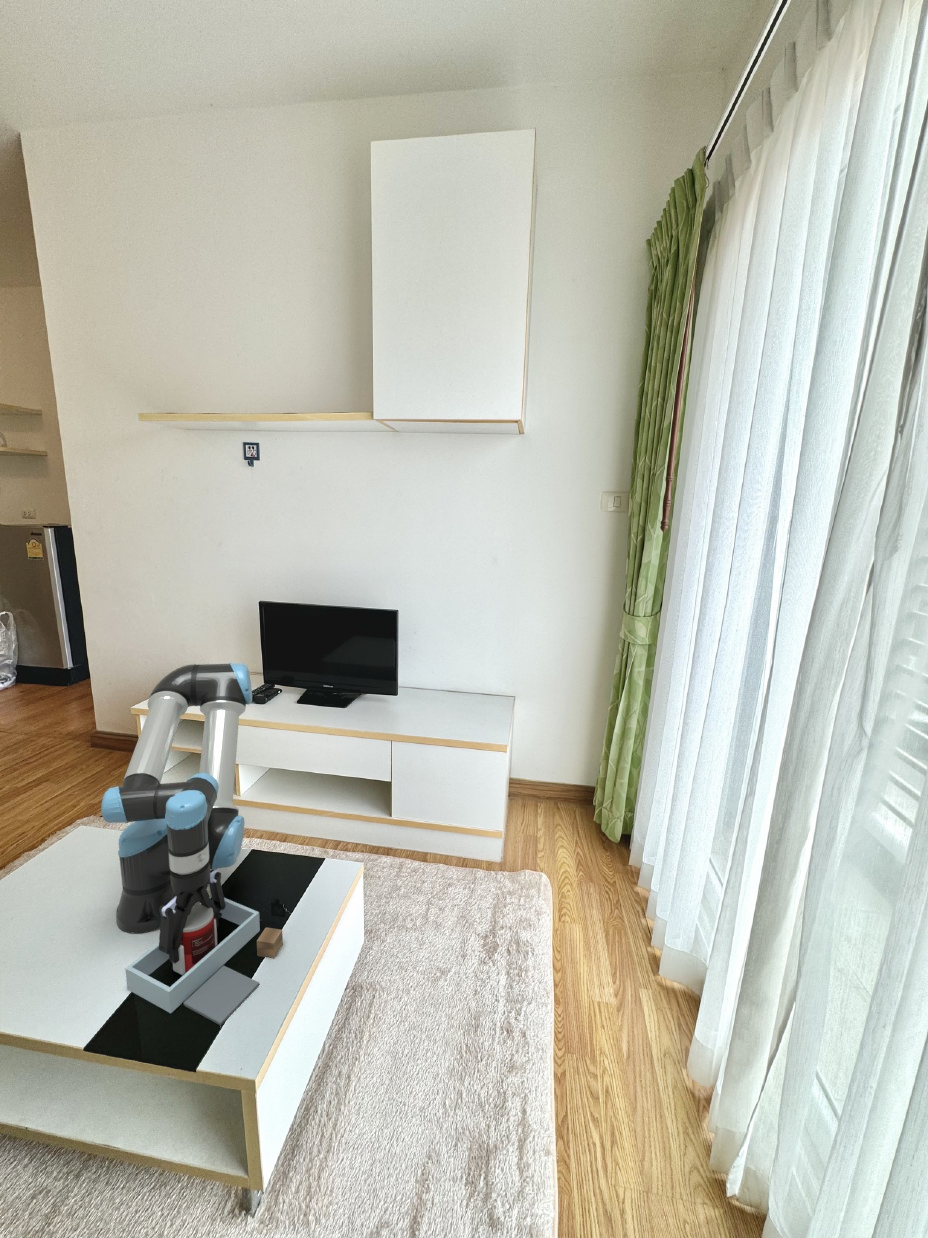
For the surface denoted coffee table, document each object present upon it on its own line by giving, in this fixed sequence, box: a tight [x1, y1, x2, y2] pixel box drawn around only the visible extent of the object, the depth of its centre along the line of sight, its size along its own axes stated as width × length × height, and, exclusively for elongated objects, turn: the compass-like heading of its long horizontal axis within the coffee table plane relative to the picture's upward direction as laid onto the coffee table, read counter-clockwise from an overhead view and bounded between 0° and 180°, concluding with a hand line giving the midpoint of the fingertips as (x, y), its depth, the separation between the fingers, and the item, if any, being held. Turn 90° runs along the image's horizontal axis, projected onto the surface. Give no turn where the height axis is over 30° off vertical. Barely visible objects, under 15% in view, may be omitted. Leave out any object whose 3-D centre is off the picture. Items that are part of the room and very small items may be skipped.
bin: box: [124, 897, 261, 1014], centre depth 118 cm, size 13×24×5 cm, turn 157°
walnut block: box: [256, 927, 284, 960], centre depth 121 cm, size 4×4×4 cm
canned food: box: [180, 903, 216, 974], centre depth 117 cm, size 8×8×11 cm
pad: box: [183, 964, 260, 1026], centre depth 110 cm, size 10×10×1 cm
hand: (195, 957), depth 118 cm, fingers closed on canned food, 8 cm apart
